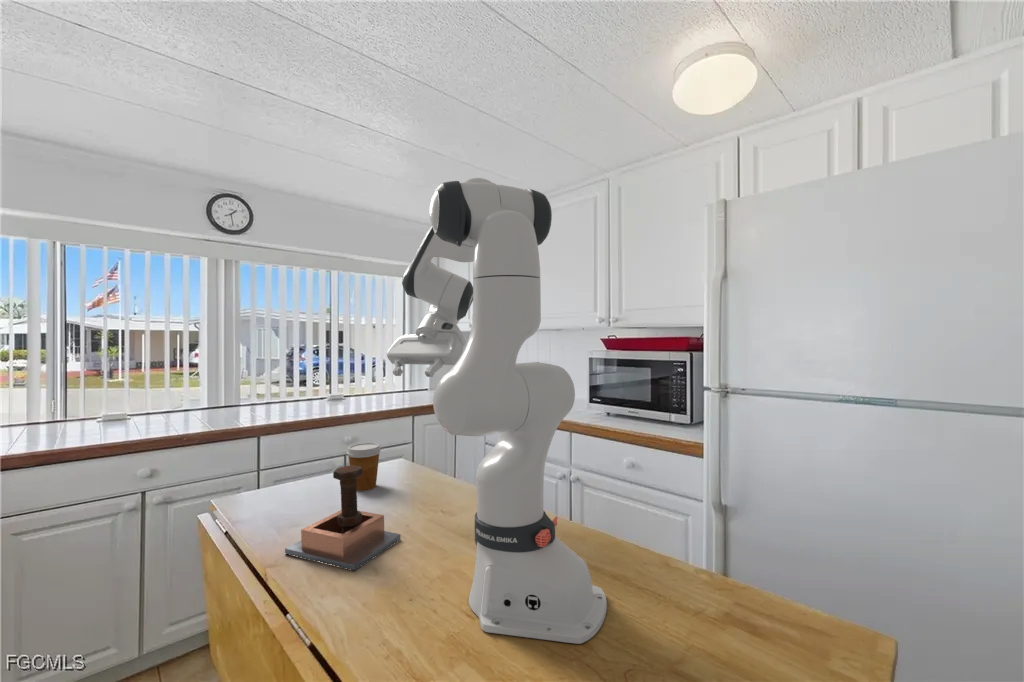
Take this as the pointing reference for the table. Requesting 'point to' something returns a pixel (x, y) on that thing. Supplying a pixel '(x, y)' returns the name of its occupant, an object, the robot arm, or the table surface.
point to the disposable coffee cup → (365, 463)
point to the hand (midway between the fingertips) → (412, 374)
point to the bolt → (348, 496)
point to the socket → (344, 541)
